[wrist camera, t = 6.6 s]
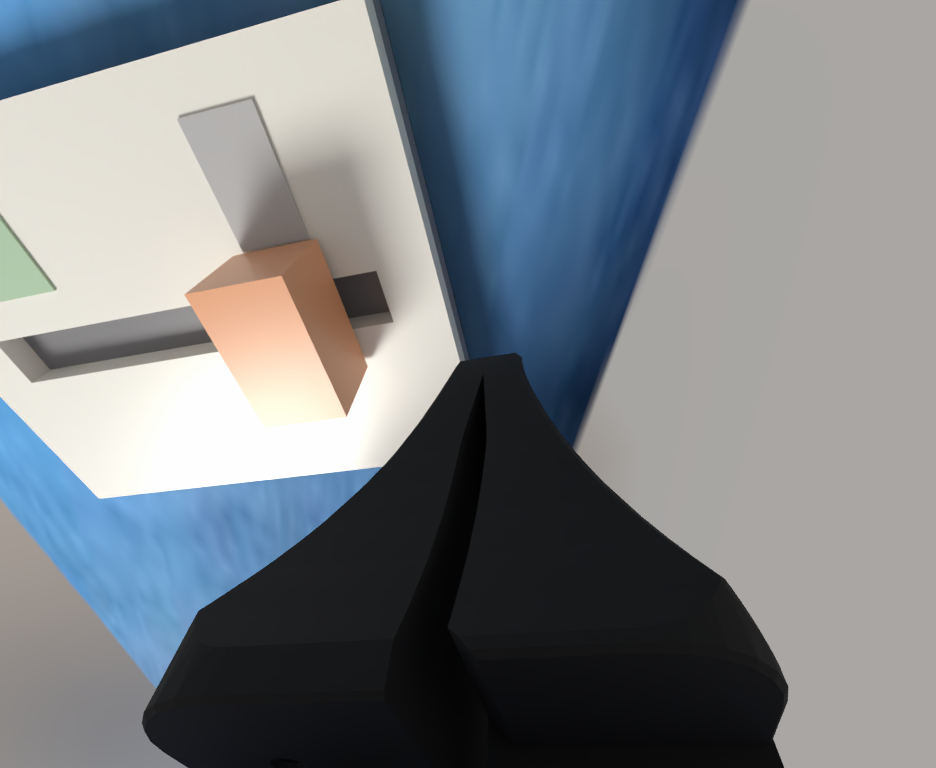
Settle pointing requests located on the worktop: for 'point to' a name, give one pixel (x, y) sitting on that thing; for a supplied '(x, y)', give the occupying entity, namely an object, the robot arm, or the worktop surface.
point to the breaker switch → (283, 333)
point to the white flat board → (215, 250)
